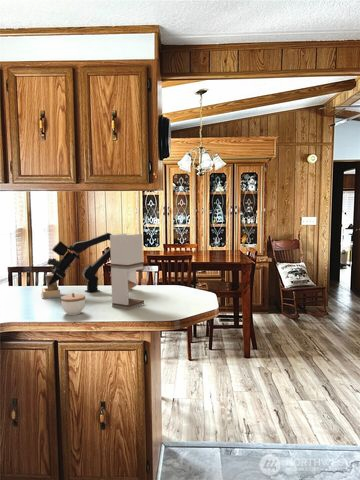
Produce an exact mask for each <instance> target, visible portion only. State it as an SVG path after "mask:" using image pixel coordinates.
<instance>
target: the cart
mask: <svg viewBox="0 0 360 480" xmlns="http://www.w3.org/2000/svg"><path fill="white" fill-rule="evenodd" d="M52 276H53V274H52V273H49V274H45V280H46V286H47V287H46V288H48V291H53V290H58V288H59V286H58V281H56V282H54V283H52V284H51V285H50V284H49V282H50V280H51V278H52Z"/></svg>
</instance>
